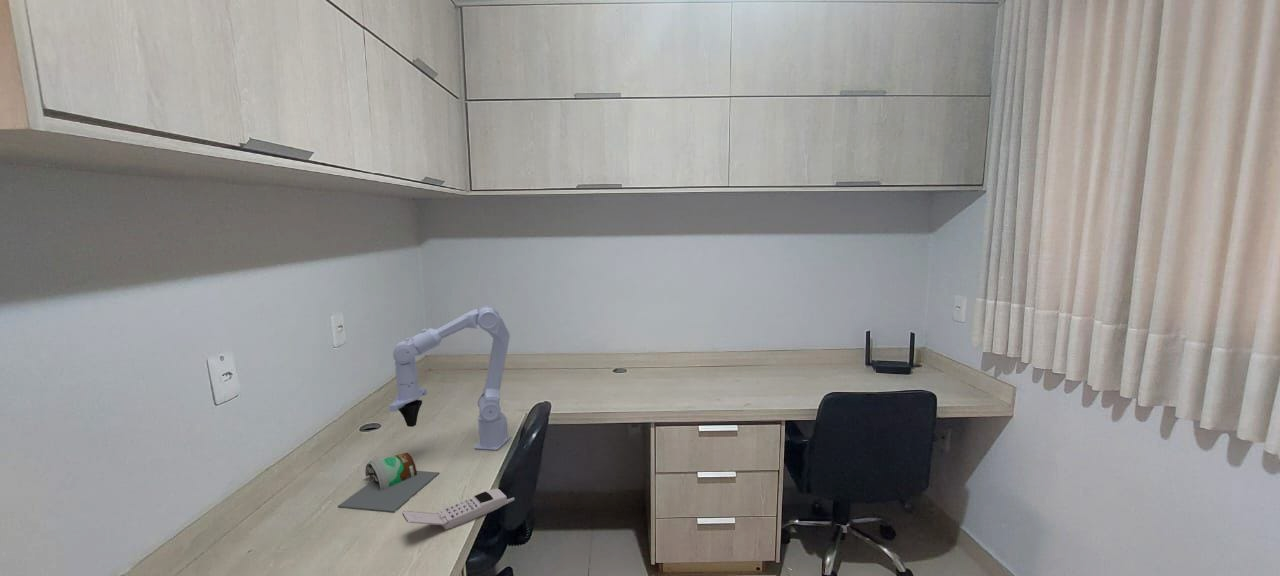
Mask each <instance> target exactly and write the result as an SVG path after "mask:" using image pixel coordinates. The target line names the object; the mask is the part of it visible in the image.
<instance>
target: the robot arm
mask: <svg viewBox="0 0 1280 576" xmlns="http://www.w3.org/2000/svg"><path fill="white" fill-rule="evenodd" d="M478 326H479V328H480V329H482V330H483V331H485V332H487V333H488V334H489V335H490V336H491V337H492V342H491V343H492V345H491V350H490V357H489V360H488V367H487V371H486V378H485V383H484V387H483V389H482V393H481V395H480V396H479V398H478V399H477V407H478V410H479V411H478V412H479V415H478V416H477V423H478V425H477V426H478V435H479V442H478V443H477V444H476V445H475V446H474V449H475V450H489V451H490V450H491V451H498V450H499V449H500V448H501V447H503V446H504V445H505V443H507V441H509V440H510V439H511V435H509V433H508V432H509V431H508V419H507V416H506V415H505V414H504V413H503V412H501V410H502V409H501V405H500V400H501V386H502V381H503V375H504V369H505V365H506V358H507V354H508V348H509V342H510V337H511V336H510V332H509V329H508V328H507V326H506V324H505V322H504V320H503V318H502V316H501V315H500V312H498V311H497V310H496V309H495V308H494V307H493V306H491V305H483V306H480V307H479V308H478V309H477V308H475V309H472V310H470V311H469V312H466V313H464V314H463V315H460V316H458V317H457V318H455V319H453V320H451V321H450V322H448V323H446V324H444V325H442V326H441V327H439V328H437V329H436V328H435V329H434V328H432V327H429V328H428V329H427V328H425V327H424V328H423V329H421V332H420V333H417V334H416V335H414V336H412V337H410V336H409V337H408V336H407V338H405V340H402V341H400V342H398V343H396V345H395V346H394V349H393V350H392V351H393V352H392V357H393V360H394V366H395V380H396V389H397V390H396V391H397V395H396V396H394V397H395V400H394V401H393V402H392V403H391V404H389V412H395V413H396V412H398V411H399V412H400V414H401V415H402V417H403V418H404V419H403V420H404V421H405V424H406V426H407V428H408V427H411V428H413V427H415V426H416V425H417V423H418V422H417V421H418V415H419V411H420V408H421V407H422V404H423V399H420V398H421V397H423V396H426V395H427V394H428V391H427V389H428V388H426V387H420V388H419V377H418V367H417V364H416V356H421V355H423V354H425V353H426V352H429V351H431V350H432V349H434V348H437V347H438V346H440V345H441V342H442V341H443V340H442V339H444V338H447V337H449V336H452V335H453V334H455V333H457V332H460V331H462V330H464V329H466V328H469V329H478Z"/></svg>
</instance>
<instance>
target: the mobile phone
mask: <svg viewBox="0 0 1280 576" xmlns="http://www.w3.org/2000/svg"><path fill="white" fill-rule="evenodd" d="M513 501H516V499H515V497H511V498H507V495H506V494H505V493H504V492H502V490H501V489H499V488H492V489H489V490H486V491H482V492H480V493H478V494H475V495H473V496H472V497H470V498H468V499H465V500H463V501H461V502H458V503H455V504H453V505H451V506H449V507H447V508H446V507H445V508H444V509H441V510H438V511H437V512H426V511H417V510H416V511H415V510H409V509H404V510H402V512H401V514H402V516H403V518H404V519H405V521H406V523H409V524H419V525H420V524H423V525H434V526H442V527H443V529H444V530H445V531H447V529H448V530H450V529H452V528H451V527H453V528H455V527H458V526H460V525H463V524H465V523H468V522H470V521H473V520H475V519H477V518H479V517H483V516H484V515H487V514H489V513H492V512H494V511H495V510H498V509H500V508H502V507H503V506H505V505H506V506H507V504H510V503H512V502H513ZM459 524H460V525H459ZM457 525H458V526H457ZM454 526H455V527H454ZM449 528H450V529H449Z"/></svg>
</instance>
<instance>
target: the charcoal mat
mask: <svg viewBox="0 0 1280 576" xmlns="http://www.w3.org/2000/svg"><path fill="white" fill-rule="evenodd" d="M439 475H440V472H437V471H425V470H424V471H422V470H417V475H415V476H413V477H411V478H409V479H406V480H404V481H402V482H400V483H397V484H395V485H393V486H390V487H389V489H385V490H380V485H379V484H377V483H375V482H374V480H371V482H369V483H368V484H366V485H365V486H363V487H362V488H360V489H359V490H358V491H356V492H355V493H353V494H352V495H351V496H349V497H347V498H346V499H345V500H344V501H342V502H341V503H340V504H338V505H337V508H338V509H339V508H341V509H351V510H364V511H373V512H374V511H376V512H382V513H383V512H386V513H393V512H394V513H396V512H397V511H398V510H399V509H400V508H401V507H403V506H404V505H405V504H406V503H407V502H409V501H410V500H411V499H412V498H413V497H415V496H416V495H417V492H418V491H419V492H420V491H421V490H422V489H423V488H425V487H426V486H427V485H428V484H429V483H430V482H431V480H432V479H433V478H434V477H435V478H436V477H438V476H439ZM435 478H434V479H435ZM434 479H433V480H434ZM433 480H432V481H433ZM428 482H429V483H428ZM427 483H428V484H427ZM426 484H427V485H426ZM425 485H426V486H425ZM424 486H425V487H424ZM419 492H418V493H419ZM412 496H413V497H412ZM411 497H412V498H411ZM410 498H411V499H410ZM409 499H410V500H409ZM402 505H403V506H402ZM396 510H397V511H396ZM395 511H396V512H395Z"/></svg>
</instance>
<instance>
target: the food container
mask: <svg viewBox="0 0 1280 576" xmlns="http://www.w3.org/2000/svg"><path fill="white" fill-rule="evenodd" d="M417 471H418V470H417V467H416V464H415V460H414V458H413V457H412V455H411V454H410V453H409V452H408V451H407V452H402V453H400V454H396V455H393V456H389V457H385V458H382V459H379V458H373V459H372V460H370V461H369V462H368V463H366V466H365V478H366V477H371V478H372V479H373V480H374V482H375V483H377V484H379V485H380V490H385V489H389V487H390V486H393V485H395V484H397V483H400V482H402V481H404V480H406V479H409V478H411V477H413V476H415V475H417ZM373 480H372V481H373Z"/></svg>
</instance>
